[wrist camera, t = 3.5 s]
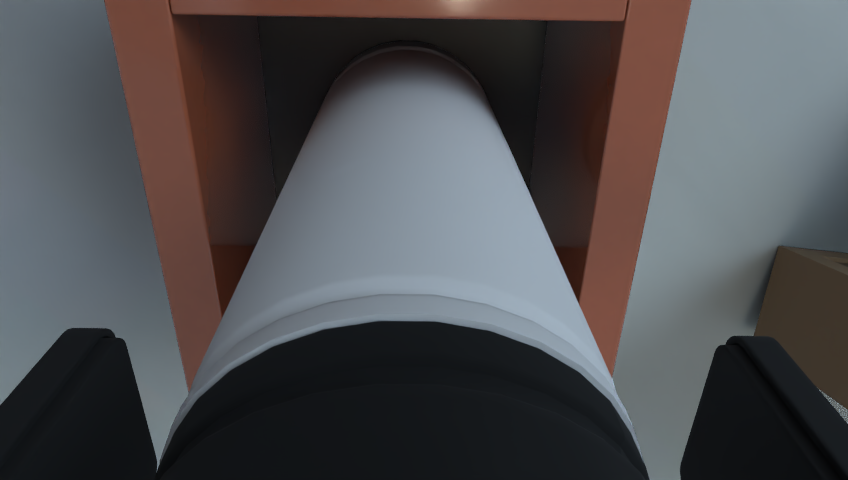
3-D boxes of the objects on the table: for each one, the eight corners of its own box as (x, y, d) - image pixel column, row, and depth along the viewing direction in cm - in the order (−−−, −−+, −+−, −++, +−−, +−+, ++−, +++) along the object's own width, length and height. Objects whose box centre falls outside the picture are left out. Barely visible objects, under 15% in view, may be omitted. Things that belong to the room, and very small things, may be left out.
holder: (251, 273, 25) (190, 409, 18) (205, -66, 20) (89, -58, 12) (552, 274, 26) (606, 408, 19) (597, -59, 20) (702, -47, 13)
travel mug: (280, 117, 22) (-199, 863, 5) (421, 0, 21) (500, 491, 3) (388, 234, 25) (338, 1019, 7) (521, 139, 23) (901, 870, 5)
